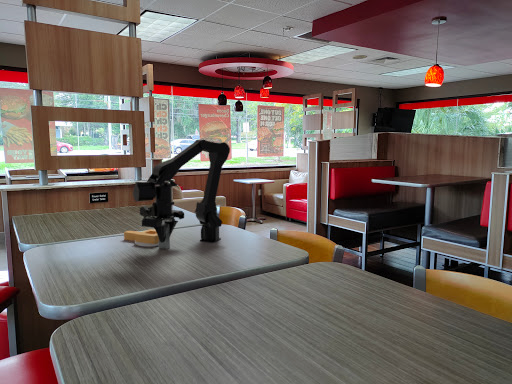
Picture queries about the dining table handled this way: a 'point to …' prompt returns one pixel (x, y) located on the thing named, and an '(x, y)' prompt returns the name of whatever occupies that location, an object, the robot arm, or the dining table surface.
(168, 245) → the dark grey post
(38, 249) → the dining table surface
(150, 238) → the bracket
